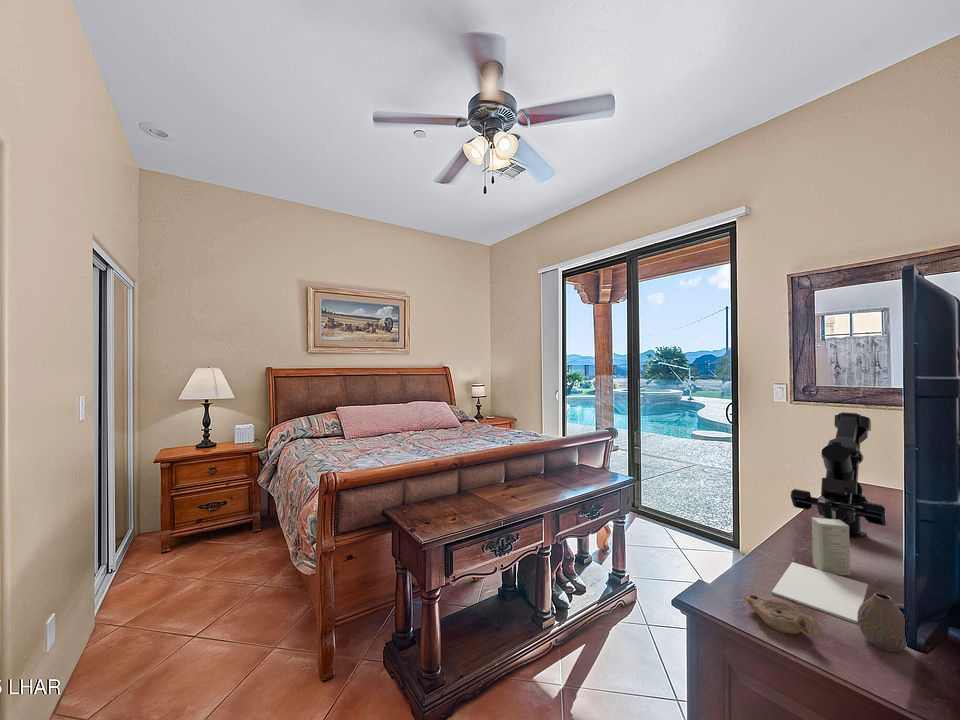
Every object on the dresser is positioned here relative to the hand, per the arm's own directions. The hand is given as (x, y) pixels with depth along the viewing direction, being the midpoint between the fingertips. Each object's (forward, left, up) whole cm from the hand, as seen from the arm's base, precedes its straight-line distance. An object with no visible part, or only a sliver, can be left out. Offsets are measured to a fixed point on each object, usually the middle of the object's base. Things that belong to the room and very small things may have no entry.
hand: (832, 534), depth 104 cm
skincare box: (+5, +2, -7) cm, 9 cm away
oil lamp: (+39, +12, -8) cm, 41 cm away
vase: (+27, +22, -7) cm, 35 cm away
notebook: (+17, +7, -7) cm, 20 cm away
